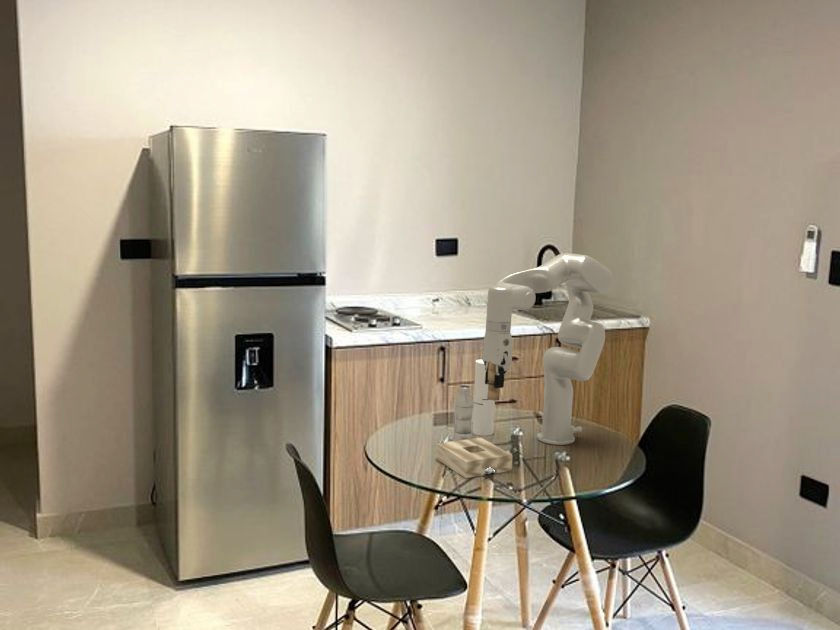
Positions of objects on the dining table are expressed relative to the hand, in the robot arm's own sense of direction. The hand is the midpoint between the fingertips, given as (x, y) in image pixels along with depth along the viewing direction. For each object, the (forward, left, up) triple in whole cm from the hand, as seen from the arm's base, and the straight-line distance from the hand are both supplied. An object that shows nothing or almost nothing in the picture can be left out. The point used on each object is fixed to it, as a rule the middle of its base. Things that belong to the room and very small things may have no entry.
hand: (494, 385), depth 261 cm
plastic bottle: (+1, -16, -25) cm, 29 cm away
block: (+7, +1, -24) cm, 25 cm away
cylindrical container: (-13, -26, -25) cm, 38 cm away
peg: (0, 0, -4) cm, 4 cm away
